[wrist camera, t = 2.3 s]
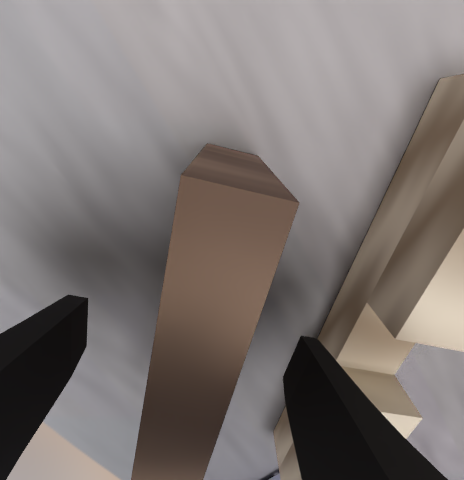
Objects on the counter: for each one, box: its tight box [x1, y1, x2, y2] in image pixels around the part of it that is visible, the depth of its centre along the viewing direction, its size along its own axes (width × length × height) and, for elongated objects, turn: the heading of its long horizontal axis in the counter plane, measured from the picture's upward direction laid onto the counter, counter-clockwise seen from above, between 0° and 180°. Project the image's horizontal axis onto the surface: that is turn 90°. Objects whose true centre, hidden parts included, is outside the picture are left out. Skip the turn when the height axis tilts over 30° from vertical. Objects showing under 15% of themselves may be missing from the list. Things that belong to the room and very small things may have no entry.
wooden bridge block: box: [131, 143, 299, 480], centre depth 10 cm, size 12×2×6 cm, turn 166°
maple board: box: [273, 74, 464, 480], centre depth 12 cm, size 20×3×4 cm, turn 166°
